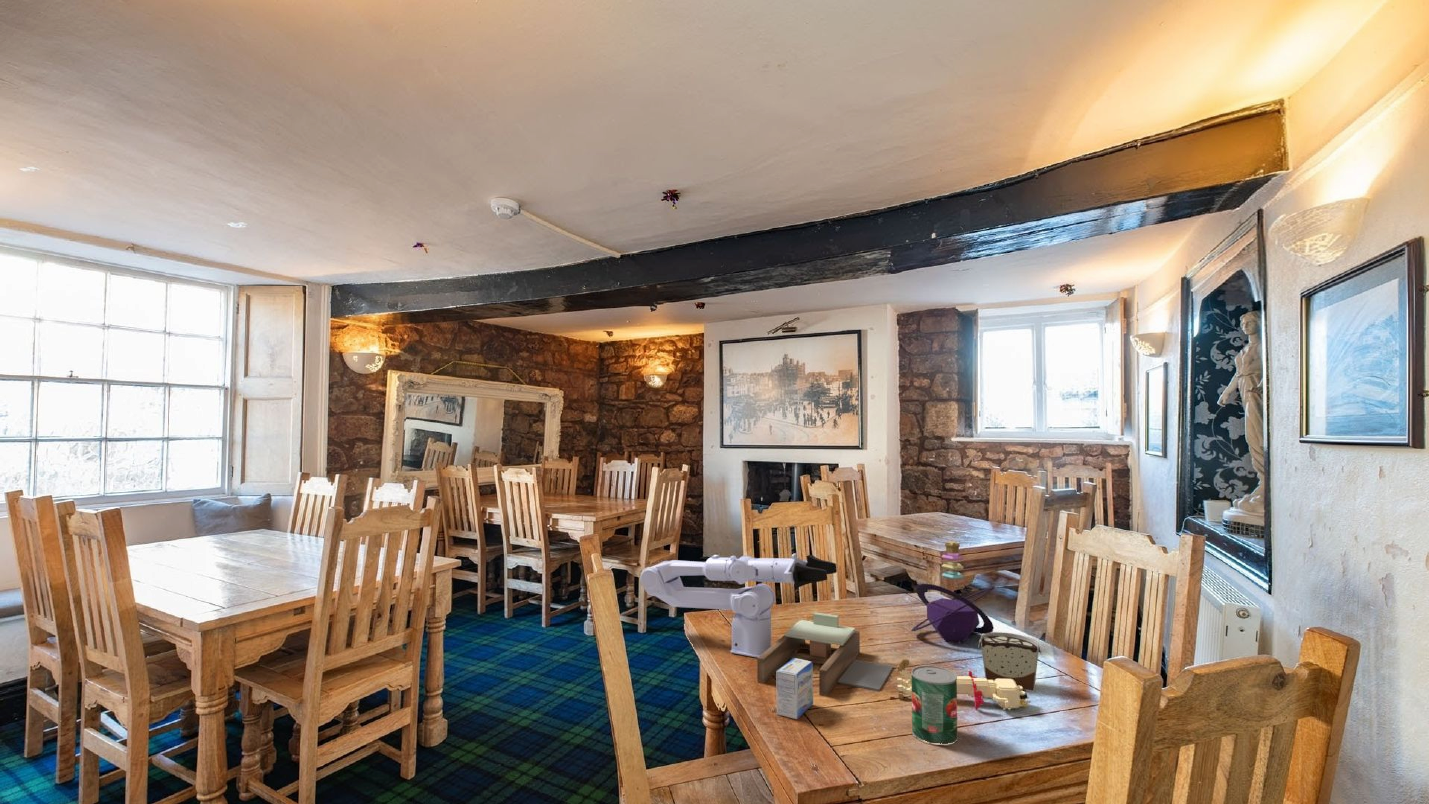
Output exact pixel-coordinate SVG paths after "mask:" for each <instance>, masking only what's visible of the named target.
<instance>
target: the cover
mask: <svg viewBox="0 0 1429 804" xmlns="http://www.w3.org/2000/svg"><path fill="white" fill-rule="evenodd" d="M812 615H813V618H812V619H813V621H810V620H803V619H800V620H798V621H797V622H796V623H795V624H793V625H792V626H791V627H790V628H789V629H787V631H785V633H784V635H785V636H787V637H793V638H799V639H805V641H810V640H811V641H817V642H823V643H829V644H831V645H836V646H840V645H841V646H843V645H844V644H845V642H846V641H847V640H848V639H849V638H850V637H851V635H852V634H853V633H854V632H855V631H856V628H855V627H852V626H843V625H840V623H839V622H840V621H839V620H840V618H839V615H835V614H829V613H825V612H824V613H822V612H814V613H813V614H812Z"/></svg>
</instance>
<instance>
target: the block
mask: <svg viewBox="0 0 1429 804" xmlns="http://www.w3.org/2000/svg"><path fill="white" fill-rule="evenodd" d="M809 644H810V650H809V655H813V656H818V657H824V658H830V657H831V656H832V654H831V647H832V644H829V643H823V642H817V641H811V640H809Z"/></svg>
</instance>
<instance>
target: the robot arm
mask: <svg viewBox="0 0 1429 804" xmlns="http://www.w3.org/2000/svg"><path fill="white" fill-rule="evenodd" d="M837 568H838V567H837V563H835V562H832V561H827V560H823V559H821V558H818V557H816V556H814V555H813V554H807V556H806V560H803V559H801V558H799V557H798V554H797V553H796V552H795V553H793V554H791V557H790V558H787V557H784V558H782V557H781V558H780V557H779V558H778V557H777V558H776V557H759V558H757V557H753V556H750V555H746V554H744V555H742V556H740V557H739V558H738V557H737V556H736V555H731V556H730V557H720V555H719V554H714V555H712V556H711V557H709V558H707V559H706V561H694V560H693V561H692V560H691V561H690V560H678V559H677V560H676V559H672V560H663V561H662V562H659V563H657V564H655V565H653V566H647V567H645V568H644V569H643V570H642V571H641V573H640V577H639V580H640V584H641V586H642V588H643V589H644V591H645V592H646V593H647V595H649V596H653V597H656V598H658V599H659V600H661V601H662V602H664V603H666V604H667V605H668V606H670V607H674V608H675V607H676V608H689V609H691V608H693V609H694V608H695V609H710V610H711V609H712V610H729V611H730V610H731V611H732V612H733V614H734V615H733V618H732V621H731V650H730V654H736V655H741V656H747V657H752V658H758V657H759V656H760V655H762V654H763V653H764V652H765V651H766V650H767V649H769V648H770V647H771V646H772V610H771V608H772V607H773V606H774V604H775V600H776V595H775V591H774V590H773V589H772V587H771V586H769V584H765V583H781V584H783V583H785V584H794V588H795V589H800V588H801V587H803V586H805V585H810V584H813V583H818V582H824V581H827V580H828V575H833V574H836V573H837V572H838V569H837ZM680 576H682V577H685V576H689V577H690V576H705V577H706V579H708V580H709V581H720V582H721V581H722V582H725V581H727V582H733V581H734V582H736V583H737V584H738V585H744V584H746V583H747V582H748V581H749V582H759V583H758V584H756V585H754V586H745V587H741V588H722V587H721V588H718V587H717V588H716V587H696V586H695V587H694V586H693V587H691V586H690V587H689V586H684V584H683V581H682V578H681V577H680Z"/></svg>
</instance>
